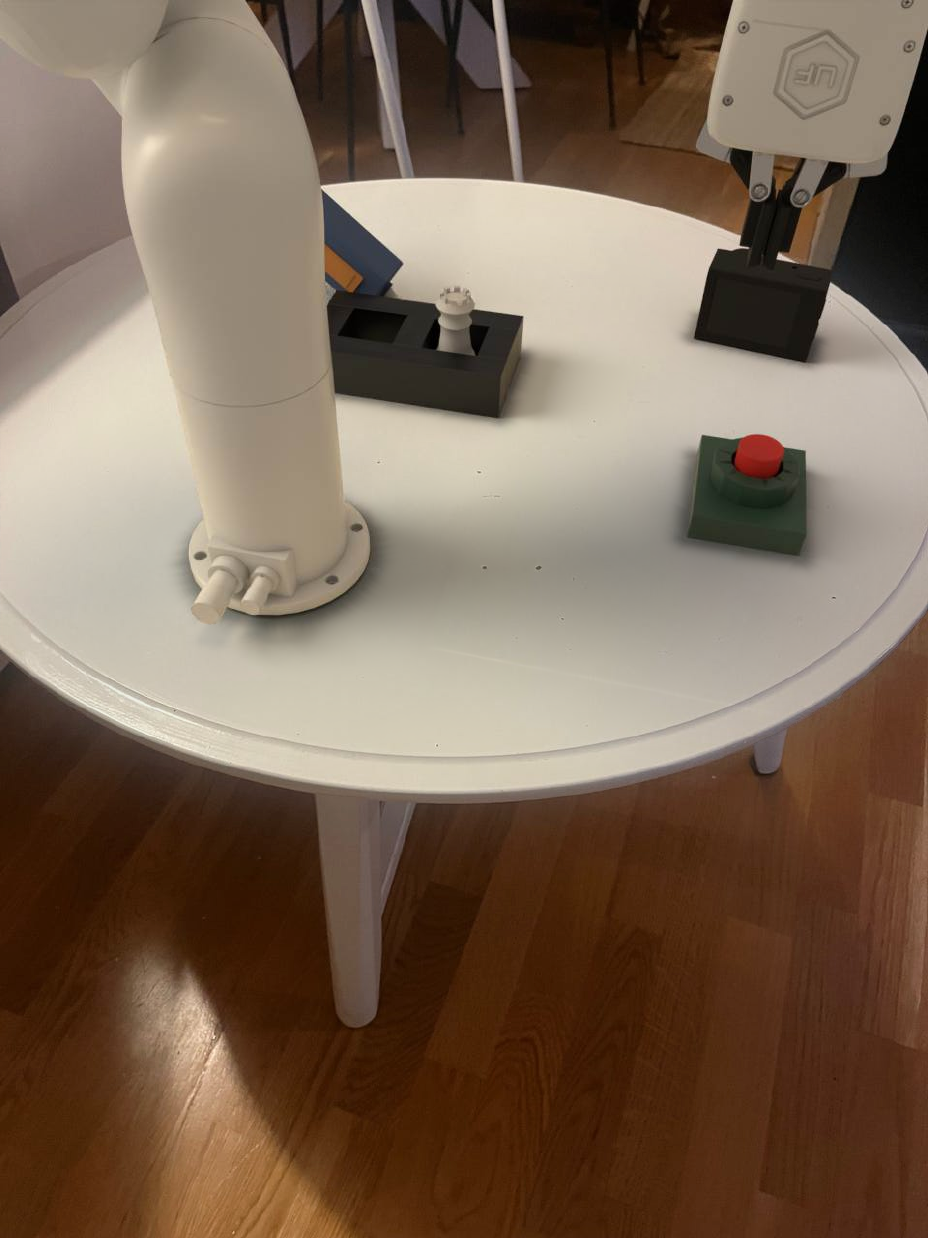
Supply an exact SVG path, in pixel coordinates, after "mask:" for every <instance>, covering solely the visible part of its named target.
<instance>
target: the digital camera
mask: <svg viewBox="0 0 928 1238" xmlns="http://www.w3.org/2000/svg"><path fill="white" fill-rule="evenodd" d="M748 250H749V248H748V247H739V248H735V249H732V250H731V249H724V248H717V249H716V251H715V254H714V256H713V258H712V261H711V262H710V265H709V266H708V270H707V273H706V277H705V282H704V287H703V291H702V295H701V296H702V297H701V300H700V307H699V311H698V316H697V321H696V326H695V330H694V334H693V335H694V336H693V339H697V340H701V341H706V342H710V343H715V344H718V345H719V344H720V345H724V346H728V347H734V348H737V349H743V350H748V351H752V352H757V353H762V354H767V355H771V356H777V357H779V358H785V359H790V360H795V361H800V362H804V363H805V362H807V359H808V356H809V354H810V350H811V347H812V344H813V342H814V341H815V338H816V334H817V330H818V327H819V325H820V323H819V321H820V320H821V318H822V315H823V311H824V308H825V305H826V302H827V296H828V294H829V293H828V292H829V288H830V285H831V281H832V277H833V273H834V270H833V269H829V268H825V267H818V266H813V265H809V264H804V263H798V262H793V261H787V260H782V259H778V258H777V260H776V263H775V267H774V270H773V271H770V270H765V267H762V259H761V263H760V266H756V268H749V267H747V262H748Z"/></svg>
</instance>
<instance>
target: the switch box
mask: <svg viewBox="0 0 928 1238" xmlns="http://www.w3.org/2000/svg"><path fill="white" fill-rule="evenodd" d="M744 437H745V436H743V437H737V438H726V437H721V436H720V437H719V436H713V435H705V434H701V436H700V440H699V444H698V448H697V452H696V456H695V457H696V458H695V464H694V465H695V466H694V475H693V476H694V477H693V482H692V493H691V501H690V509H689V518H688V526H687V535H686V537H687V538H689V539H693V540H701V541H705V542H712V543H717V544H725V545H730V546H735V547H742V548H748V549H753V550H759V551H760V550H761V551H765V552H772V553H778V554H784V555H789V556H796V557H799V556H800V553H801V551H802V547H803V546H804V543H805V540H806V537H807V534H808V531H807V526H808V525H807V451H806V450H804V449H798V448H791V447H785V446H783V448H784V454H783V458H782V461H781V464H780V467H779V470H778V473H777V474H776V475H775V476H774V477H772V478H767V479H760V478H753V477H749V476H747V475H745V474H743V473H741V472H739V471H738V470H737V469H736V468H735V465H734V460H735V457H736V453H737V450H738V446H739V443H740V441H741V439H742V438H744Z"/></svg>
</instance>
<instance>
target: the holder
mask: <svg viewBox="0 0 928 1238" xmlns="http://www.w3.org/2000/svg"><path fill="white" fill-rule="evenodd" d="M334 291H335V292H334V293H333V295H332V296H331V298H330V299H329V301H328V302H327V316H328V327H329V339H330V351H331V357H332V367H333V378H334V390H335V394H341V395H342V394H343V395H348V396H349V395H350V396H355V397H362V398H366V399H375V400H380V401H386V402H387V401H388V402H393V403H400V404H406V405H411V406H412V405H413V406H418V407H424V408H425V407H426V408H431V409H432V408H433V409H439V410H446V411H450V412H451V411H452V412H457V413H458V412H459V413H464V414H471V415H477V416H483V417H490V418H496V419H499V417H500V414H501V412H502V409H503V408H504V407H503V406H504V405H505V404H504V403H505V401H506V399H507V395H508V393H509V390H510V387H511V384H512V381H513V379H514V377H515V373H516V371H517V367H518V365H519V363H520V359H521V358H522V343H523V330H524V329H523V328H524V315H519V314H511V313H504V312H497V311H490V310H482V309H475V308H474V309H473V310H472V311H471V312H470V313H469V316H470V318H471V320H472V323H471V325H470V326H469V334H470V342H471V347H472V349H473V350H474V352H475V355H476V356H473V355H466V354H459V353H453V352H446V351H439V350H436V349H437V348H438V345H439V339H440V332H441V325H440V324H439V322H438V320H439V317H440V316H441V313H440V311H439V310H438V309H437V307H436V305H435V304H436V303H433V302H425V301H419V300H410V299H403V298H400V299H397V298H390V297H383V296H375V295H368V294H361V293H354V292H347V291H339V290H334Z"/></svg>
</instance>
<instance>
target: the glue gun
mask: <svg viewBox="0 0 928 1238" xmlns="http://www.w3.org/2000/svg"><path fill="white" fill-rule="evenodd" d="M321 192H322V202H323V217H324V267H325V283H326V284H327V285H329V286H330V287H331V288H332V289H333V290H334V291H336V290H339V291H347V292H354V293H361V294H368V295H375V296H383V297H390V298H397V299H401V297H400V296H399V295H398V293H397V292H396V291H395V290H394V289H393V288H392V287H393V285H394V283H392V282H391V281H392V280H393V279H394V277H395V276H396V275H397V274H398V272H399V271H400V270H401V269H402V267H403V266H404V262H403V260H401V259H400V258H399V257H398V256H397V255H396V254H395V253H394V252H392V251H391V250H390V249H389V248H388V247H387V246H385V245H384V243H383V242H381V241H380V240H379V238H377V237H376V236H374V235H373V234H372V233H371V232H370V231H369V230H368V229H367V228H366V227H364V225H362V224H361V223H360V222H359V221H358V220H357V219H356V218H354V217H353V216H352V215H351V214H350V213H349V212H348V211H347V210H346V209H344V208H343V207H342V206H341V205H340V204H339V203H338V202H336V201H335V200H334V199H333V198H332V197H331V196H330V195H329V194H328V193H327V192H325V191H324V190H323V189H322V188H321Z"/></svg>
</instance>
